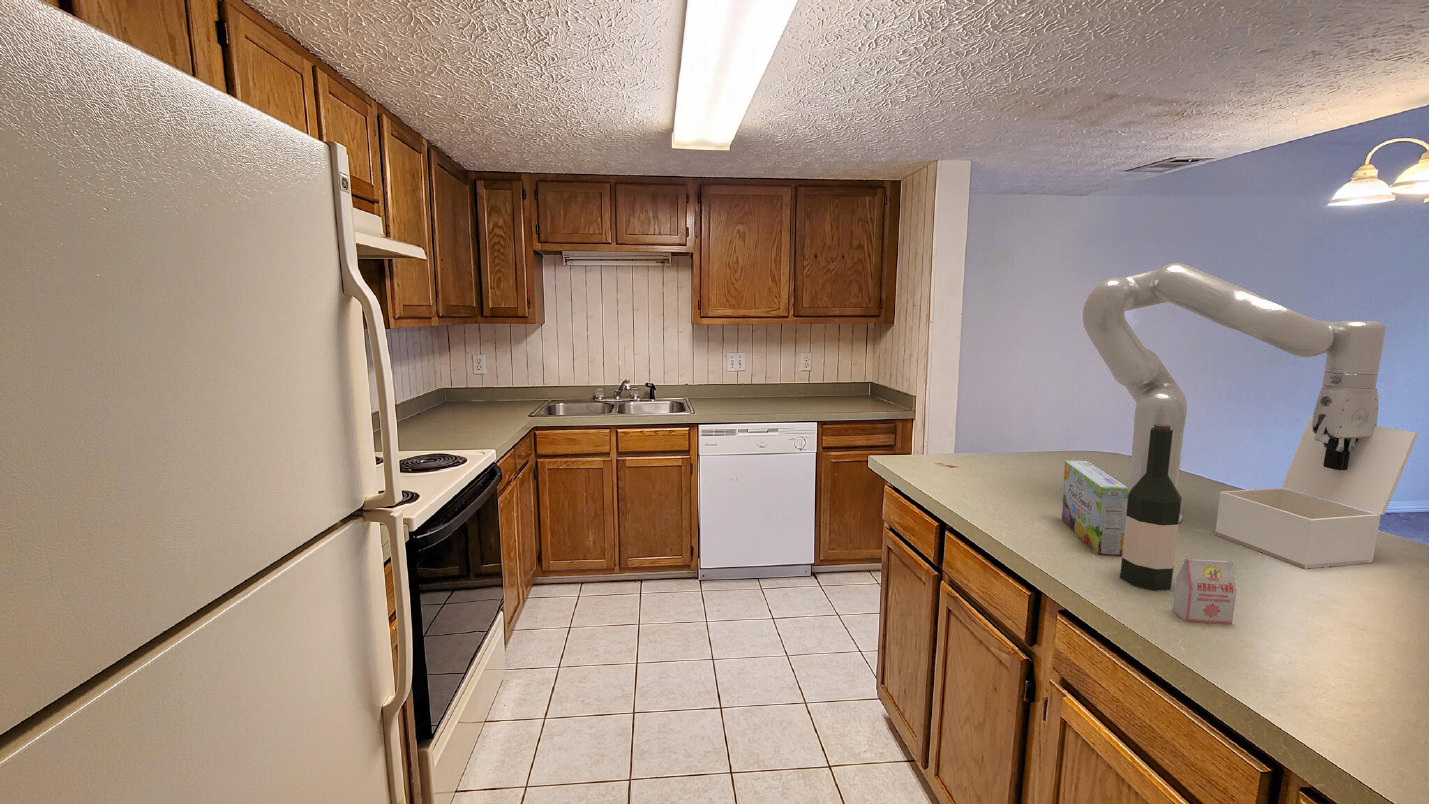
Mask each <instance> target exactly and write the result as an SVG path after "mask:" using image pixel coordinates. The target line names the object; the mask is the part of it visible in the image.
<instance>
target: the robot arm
mask: <svg viewBox="0 0 1429 804" xmlns="http://www.w3.org/2000/svg"><path fill="white" fill-rule="evenodd" d="M1163 303H1171V304H1173V305H1175V306H1178V307H1180V308H1181V309H1185V310H1187V311H1188V312H1191V313H1193V314H1196V315H1198V316H1200V317H1202V318H1204V319H1205V320H1209V321H1211V322H1212V323H1213V322H1214V323H1216V324H1218V325H1220V326H1222V327H1225V328H1227V329H1230V330H1235V331H1238V332H1241V333H1243V334H1245V335H1247V336H1250V337H1252V338H1254V339H1257V340H1259V341H1262V342H1263V343H1266V344H1268V345H1270V346H1273V347H1274V348H1277V349H1279V350H1282V351H1284V352H1285V353H1288V354H1289V355H1292V356H1295V357H1297V358H1299V357H1300V358H1312V357H1317V356H1319V355H1322V354H1326V360H1325V365H1324V372H1323V377H1322V383H1321V389H1320V391H1319V394H1318V396H1317V399H1316V403H1315V406H1314V412H1313V415H1312V416H1313V420H1312V431H1313V432H1314V433H1315V434H1316V436H1315V441H1319V442H1323V444H1324V448H1325V449H1326V452H1325V458H1324V464H1323V466H1324V467H1326V468H1331V469H1335V470H1347V468H1348V462H1349V456H1350V452H1349V451H1352V450H1353V448H1354V445H1355V444H1356V443H1357V441H1358V439H1357V438H1361V437H1370V436H1372V435H1373V432H1374V429H1375V426H1378V425H1377V424H1378V418H1379V417H1378V416H1379V394H1378V393H1379V392H1378V389H1376V386H1377V382H1378V376H1379V371H1380V364H1381V359H1382V353H1383V346H1384V340H1385V336H1386V326H1385V324H1384V323H1383V322H1380V321H1375V320H1342V321H1326V320H1317V319H1315V318H1312V317H1310V316H1307V315H1305V314H1302V313H1299V312H1297V311H1295V310H1293V309H1290V308H1288V307H1286V306H1282V305H1280V304H1278V303H1276V302H1273V301H1270V300H1268V299H1266V298H1264V297H1263V296H1260V295H1259V294H1257V293H1255V292H1253V291H1251V290H1249V289H1246V288H1244V287H1241V286H1240V285H1236V284H1235V283H1232V282H1229V281H1227V280H1224V279H1222V278H1220V277H1218V276H1215V275H1212V274H1210V273H1208V272H1205V271H1203V270H1200V269H1198V268H1196V267H1193V266H1191V265H1187V264H1185V263H1182V262H1181V263H1180V262H1172V263H1168V264H1165V265H1163V266H1162V267H1160V268H1157V269H1153V270H1150V271H1149V270H1148V271H1145V272H1141V273H1138V274H1133V275H1132V274H1131V275H1129V276H1124V277H1110V278H1107V279H1105V280H1103V281H1101V282H1099V283H1098V284H1097V285H1096V286H1095V287H1094V288H1093V289H1092V290H1091V292H1090V294H1089V295H1088V297H1087V298H1086V301H1085V303H1084V305H1083V310H1082V322H1083V327H1084V330H1085V332H1086V333H1087V336H1088V337H1089V339H1090V341H1091V342H1092V343H1093V346H1095V348H1096V350H1097V352H1098V354H1099V355H1100V357H1101V359H1102V360H1103V362H1104V363H1105V364H1106V366H1107V367H1108V370H1109V371H1110V372H1111V375H1112V376H1113V378H1114V380H1116V381H1117V383H1119V384H1120V385H1121V386H1123V387H1125V388H1126V390H1127V391H1128V393H1129V394H1130V395H1131V397H1132V398H1133V400H1134V402H1135V403H1136V405H1135V408H1134V409H1135V410H1134V419H1133V436H1132V447H1131V459H1130V467H1129V468H1130V469H1129V477H1128V478H1129V479H1128V486H1127V487H1128V488H1129V490H1128V494H1129V492H1130V490H1131V489H1132V488H1133V486H1134V485H1135V484H1136V483H1137V482H1138V481H1139V480H1140V479H1141V478H1142V477H1143V476H1144V474H1145V473H1146V470H1147V461H1148V451H1149V442H1150V432H1151V428H1154V424H1167V425H1170V429H1171V430H1173V434H1172V443H1171V452H1170V461H1169V470H1168V476H1169V477H1170V479H1171V481H1172V482H1173V484H1174V486H1175V488H1176V489H1177V490H1178V485H1179V474H1180V467H1181V459H1182V450H1183V449H1182V448H1183V442H1184V440H1183V439H1184V433H1185V425H1186V420H1187V419H1186V418H1187V410H1188V407H1187V406H1188V404H1187V403H1188V401H1187V398H1186V396H1185V394H1184V392H1183V390H1182V389H1181V388H1180V385H1178V383H1177V381H1176V380H1175V379H1174V377H1173V376H1172V374H1171V373H1170V372H1169V371H1168V369H1167V368H1166V366H1165V364H1164V363H1163V362H1162V360H1161V359H1160V358H1159V357H1158V355H1157V354H1156V353H1155V352H1154V351H1153V350H1150V349H1149V348H1146V347H1145V345H1143V342H1142V341H1141V340H1140V338H1139V337H1138V336H1137V335H1136V332H1135V330H1133V329H1132V327H1131V325H1130V324H1129V323H1128V321H1127V319H1126V314H1125V312H1126V311H1132V310H1136V309H1141V308H1145V307H1150V306H1155V305H1160V304H1163ZM1127 503H1128V501H1127ZM1126 513H1127V512H1126ZM1182 521H1183V515H1182V514H1181V513H1180V515H1179V524H1180V523H1181V522H1182Z"/></svg>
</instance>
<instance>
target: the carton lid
mask: <svg viewBox="0 0 1429 804" xmlns="http://www.w3.org/2000/svg"><path fill="white" fill-rule="evenodd" d="M1312 420H1313V415H1310V416H1309V419H1308V420H1307V423H1306V425H1305V429H1304V431H1303V433H1302V436H1301V438H1300V441H1299V442H1298V445H1297V449H1296V451H1295V453H1294V455H1293V458H1292V460H1291V463H1290V466H1289V468H1288V471H1287V474H1286V475H1285V478H1284V480H1283V483H1282V486H1281V488H1285V489H1288V490H1292V491H1295V492H1299V493H1303V494H1306V495H1310V496H1314V497H1317V498H1321V499H1325V500H1328V501H1332V502H1335V503H1339V504H1343V505H1346V506H1350V507H1354V508H1357V509H1361V510H1365V511H1368V512H1372V513H1375V514H1379V515H1382V516H1385V514H1386V511H1387V510H1388V507H1389V504H1390V503H1391V500H1392V498H1393V495H1394V492H1395V490H1396V488H1397V485H1398V483H1399V481H1400V478H1401V476H1402V473H1403V471H1404V469H1405V467H1406V465H1407V461H1408V459H1409V458H1410V455H1411V452H1412V450H1413V448H1414V445H1415V443H1416V441H1417V439H1418V435H1419V432H1416V431H1411V430H1404V429H1398V428H1397V429H1396V428H1392V427H1385V426H1379V425H1377V426H1375V429H1374V432H1373V435H1372V436H1370V437H1361V438H1357V439H1358V441H1357V443H1356V444H1355V445H1354V448H1353V450H1352V451H1349V452H1350V456H1349V462H1348V468H1347V470H1335V469H1331V468H1326V467H1324V466H1323V464H1324V458H1325V452H1326V449H1325V448H1324V444H1323V442H1319V441H1315V436H1316V434H1315V433H1314V432H1313V431H1312Z"/></svg>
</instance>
